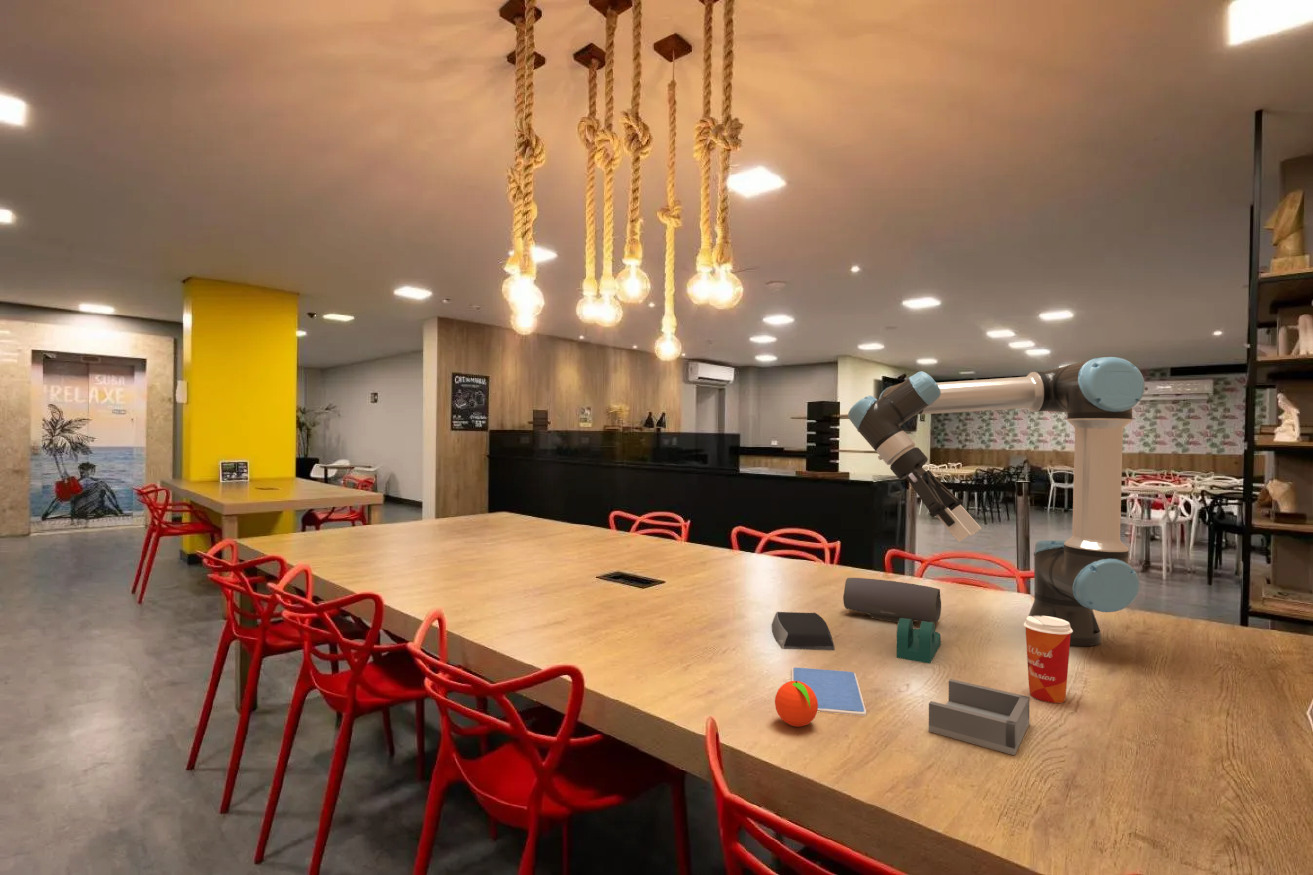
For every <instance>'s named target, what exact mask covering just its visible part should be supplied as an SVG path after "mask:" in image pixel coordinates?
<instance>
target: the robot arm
mask: <svg viewBox="0 0 1313 875" xmlns="http://www.w3.org/2000/svg"><path fill="white" fill-rule="evenodd" d="M1145 387H1146V382H1145V379H1144V377H1143V374H1142V372H1141V371H1140V369H1139V368H1138V367H1137V366H1135V364H1133V363H1132V362H1131V361H1129V360H1127V359H1125V358H1122V357H1115V356H1107V357H1105V356H1104V357H1094V358H1092V359H1088V360H1085V361H1081V362H1076V363H1075V362H1074V363H1071V364H1068V365H1064V366H1062V367H1057V368H1053V369H1047V370H1042V371H1030V372H1029V373H1028V374H1027V375H1026V376H1018V377H1004V378H1003V377H1002V378H989V379H988V378H986V379H972V380H958V381H944V382H943V381H942V382H937V381H935V380H934V378H933V377H932V376H931V375H930V374H929V373H928V372H927V373H926V372H925V371H921V370H920V371H918V372H916V373H915V374H913V375H910V376H909V377H908V378H907V379H905V380H904V381H903V382H901V383H897V384H894V385H889V387H886V388H885V389H884V390H883V391H882V392H881V393H880V394H879V397H878V399H877V398H875V397H874V396H872V395H867V396H865V397H863V398H861V399H859V400H858V401H857V402H855V404H853V405H852V407H851V408H850V409H849V411H848V414H847V418H848V419H849V421H850V422H851V423H852V424H853V426H854V427H855V429H856V431H857V432H858V433H859V434H860V435H861V437H863V439H864V440H865V441H866V442H867V443H868V444H869V446H871V448H872V449H873V450H874V451H875V452H876V453H877V454H878V457H877V459H878V460H879V461H882V460H883V461H884V463H885V464H886V465H887V466H890V470H891V472H892V473H893V474H894V475H895V476H896V477H897V478H898V480H906V481H908V483H909V484H910V485H911V487H912V488H913V489H914V491H915V492H916V494H917V495H918V497H919V498H920V500H921V502H922V503H923V504H924V505H925V507H926V508H927V510H928V512H929V515H930V516H931V518H935V517H937V518H938V520H939V521H940V522H941V523H942V525H944V527H945V528H946V530H948V531H949V533H950V534H951V535H952V536H953V537H954V538H955V540H956V541H957V542H958V543H961V541H963V540H964V539H965V538H967V537H968V536H970V537H972V536H973V535H975V534H976V533H978V532H979V531H980V530H982V527H981V525H980V524H978V523H977V522H976V520H975V519H974V518H973V517H972V516H971V515H970V513H969V512H968V511H967V510H966V509H965V508H964V507H963V506H962V504H963V503H964V501H963V500H962V499H961V498H957V496H955V495H954V494H953V493H952V492H951V491H950V490H949V489H948V488H947V487H946V486H945V485H944V484H943V483H942V482H941V481H940V480H939V478H937V477H936V475H934V474H933V472H932V471H931V470H930V469H928V470H926V469H924V468H923V466H924V465H926V464H927V462H928V461H929V460H928V457H927V456H926V455H925V453H924V452H923V451H922V450H921V449H920V448H919V447H917V446H916V443H915V441H913V440H912V438H911V437H910V436H909V435H908V434H907V433H906V432H905V431H904V430H903V429H902V428H901V426H902V425H904V424H905V423H906V422H907V421H908V420H910V419H911V418H913V417H914V416H916V415H927V414H928V415H930V414H933V415H934V414H948V413H949V414H950V413H965V412H966V413H967V412H983V411H997V410H998V411H1001V410H1017V409H1018V410H1019V409H1028V410H1029V411H1031V412H1033V413H1037V412H1038V413H1040V412H1048V413H1049V412H1053V413H1054V412H1055V413H1066V415H1067V416H1066V420H1067V422H1068V423H1069V424H1070V425H1071V426H1072V427H1073V428H1074V458H1073V496H1072V497H1073V500H1072V502H1073V503H1072V535H1071V537H1069V538H1068V539H1066V540H1064V539H1063V540H1062V539H1061V540H1059V539H1057V540H1056V539H1040V540H1038V541H1036V542H1035V544H1034V552H1033V556H1034V560H1033V561H1034V563H1033V565H1034V567H1033V568H1034V570H1033V571H1034V573H1033V574H1034V575H1033V576H1034V579H1033V581H1034V583H1033V584H1034V587H1033V588H1034V595H1033V596H1034V597H1033V598H1034V599H1033V603H1032V606H1031V608H1030V611H1029V613H1028V615H1027V617H1028V616H1032V617H1033V616H1040V617H1041V616H1049V617H1055V618H1059V619H1063V620H1065V621H1067V622H1069V623H1070V627H1071V629H1072V630H1073V632H1072V633H1071V635H1070V646H1075V647H1093V646H1094V647H1095V646H1097V645H1098V646H1099V645H1100V644H1101V642H1102V634H1101V630H1100V627H1099V624H1098V621H1097V618H1096V615H1095V612H1094V611H1097V612H1101V613H1114V612H1118V611H1122V610H1124V609H1126V608H1127V607H1128V606H1129V605H1130V604H1132V603H1134V601H1135V600H1136V598H1137V597H1138V595H1139V592H1140V587H1141V586H1140V584H1141V582H1140V578H1139V575H1138V573H1137V572H1136V570H1135V569H1134V568H1133V567H1132V566H1131V565H1130V564H1129V556H1130V554H1129V552H1130V551H1129V547H1128V546H1126V545H1125V544H1124V543H1123V542H1122V540H1121V520H1122V519H1121V518H1122V517H1121V515H1122V514H1121V513H1122V508H1121V507H1122V476H1123V472H1122V471H1123V444H1124V443H1123V437H1124V434H1123V433H1124V429H1125V427H1126V426H1128V425H1129V424H1130V423H1131V422H1132V421H1133V407H1135V406H1136V405H1137V404H1138V403H1139V402H1140V401H1141V400H1142V398H1143V396H1144V394H1145V391H1146V390H1145V389H1146V388H1145Z"/></svg>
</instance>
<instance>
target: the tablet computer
mask: <svg viewBox="0 0 1313 875" xmlns="http://www.w3.org/2000/svg"><path fill="white" fill-rule="evenodd" d="M790 672H791V676H790V677H791V679H790V681H800V682H803V683H805V684H806V685H808V686H809V687H810V688H811V689H812V690H813V691H814V693H815V695H816V698H817V701H818V710H817V711H820V712H828V713H827V714H829V713H840V714H852V715H860V716H864V715H866V714H867V709H866V706H865V702H864V699H863V695H862V691H861V688H860V684H859V680H858V678H857V677H858V676H857V673H855V672H853V671H846V670H835V669H823V668H822V669H821V668H820V669H819V668H808V667H792V668H791V671H790ZM840 714H839V715H840ZM860 716H859V717H860ZM866 716H867V715H866ZM864 717H865V716H864Z"/></svg>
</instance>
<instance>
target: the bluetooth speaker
mask: <svg viewBox="0 0 1313 875" xmlns="http://www.w3.org/2000/svg"><path fill="white" fill-rule="evenodd" d="M842 597H843V598H842V602H843V605H844V606H843V607H844V608H845V609H847V610H851V611H855V612H858V613H859V612H860V613H862V614H863V613H864V614H868V615H869V617H870V618H871V617H873V618H872V619H876V618H877V620H881V619H882V621H887V620H888V621H887V622H894V623H898V621H899V619H900V618H906V619H912V621H913V622H922V621H926V622H933V623H938V622H939V620H940V619H941V614H942V613H941V612H942V598H941V589H940V588H935V587H932V586H927V585H922V584H921V585H920V584H915V583H909V582H901V581H894V580H885V579H876V578H865V577H847V578H846V579H845V582H844V590H843V596H842Z"/></svg>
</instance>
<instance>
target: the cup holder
mask: <svg viewBox="0 0 1313 875" xmlns="http://www.w3.org/2000/svg"><path fill="white" fill-rule="evenodd" d="M1030 701H1031V698H1030V696H1027V695H1023V694H1019V693H1014V692H1010V691H1005V690H1001V689H997V688H992V687H987V686H984V685H979V684H976V683H975V684H974V683H970V682H966V681H962V680H958V679H957V680H956V679H954V678H953V679H952V678H950V679H949V680H948V701H947V702H946V703H940V702H937V701H932V700H930V701H929V702H928V732H929V733H930V732H931V733H934V734H937V735H939V736H940V735H941V736H944V737H947V738H950V739H955V740H959V741H962V742H965V743H968V744H973V745H976V746H979V747H983V748H986V749H989V750H993V751H997V752H1001V753H1005V754H1009V755H1012V756H1015V755H1016V754H1017V751H1018V749H1019V746H1020V745H1021V744H1022V741H1023V738H1024V736H1025V734H1026V733H1027V730H1028V728H1029V726H1030Z"/></svg>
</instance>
